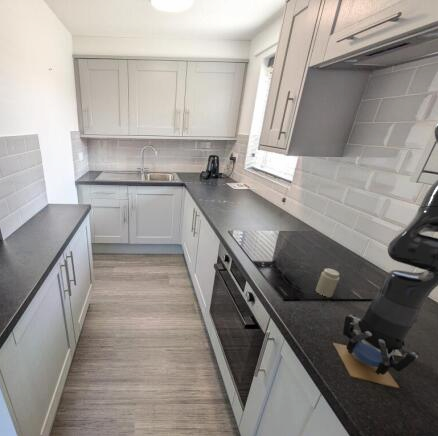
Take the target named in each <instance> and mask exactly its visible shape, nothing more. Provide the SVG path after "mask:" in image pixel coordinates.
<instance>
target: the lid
mask: <svg viewBox="0 0 438 436" xmlns="http://www.w3.org/2000/svg"><path fill="white" fill-rule="evenodd" d="M353 352H354V354H355V355H356V357H357V358H359V359H360V360H361V361H362V362H364V363H366V364H368V365H370V366H373V367H379V365H380V363H381V362H382V361H383V360H382V356H381V353H380V352H379V351H378V350H377V349H375V348H374V347H372V346H370V345H368V344H365V343H363V342H359V343H357V344H356V345H355V347H354V348H353Z"/></svg>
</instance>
